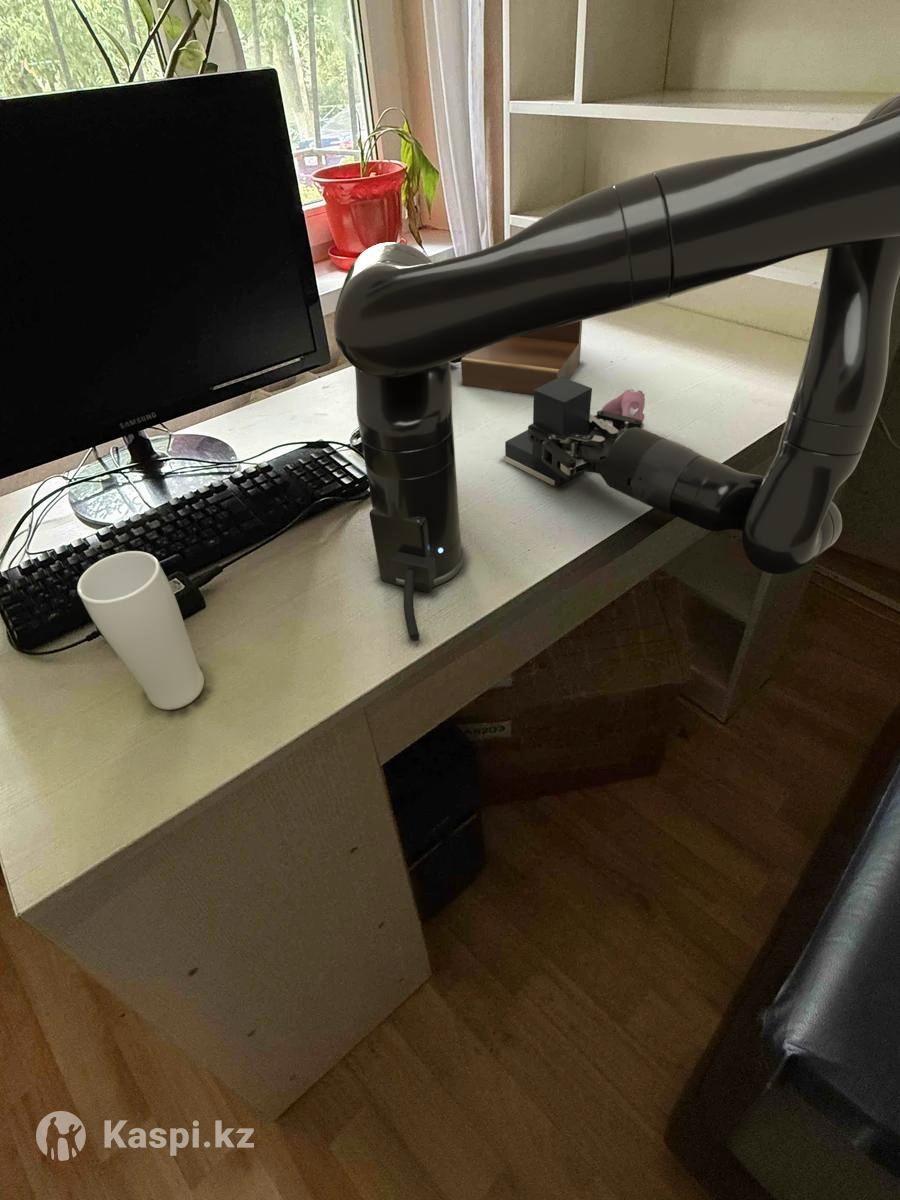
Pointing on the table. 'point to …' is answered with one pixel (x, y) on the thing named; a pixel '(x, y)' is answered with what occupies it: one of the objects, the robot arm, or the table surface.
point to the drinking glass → (143, 626)
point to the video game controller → (628, 404)
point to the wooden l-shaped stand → (525, 360)
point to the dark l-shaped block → (552, 426)
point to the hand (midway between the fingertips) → (545, 423)
